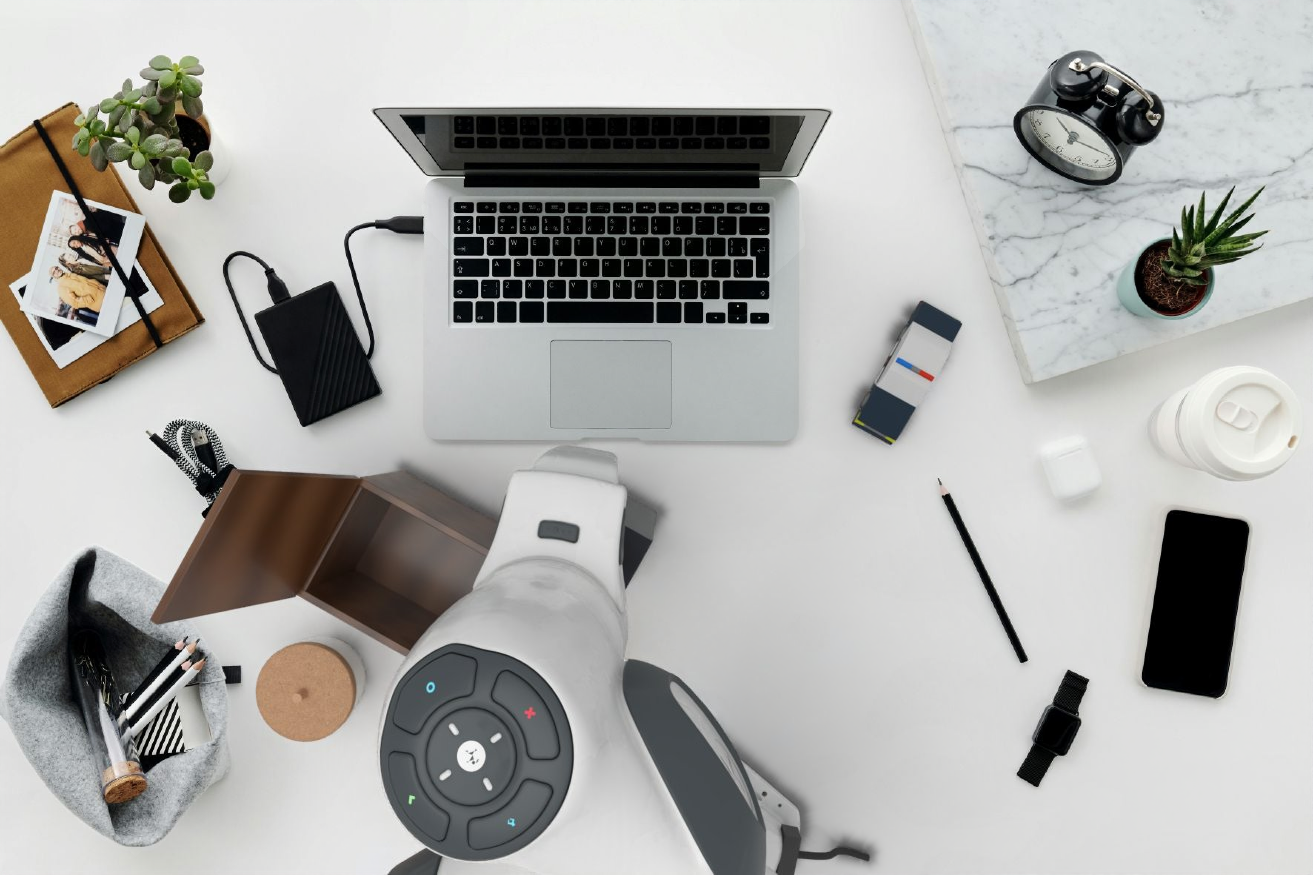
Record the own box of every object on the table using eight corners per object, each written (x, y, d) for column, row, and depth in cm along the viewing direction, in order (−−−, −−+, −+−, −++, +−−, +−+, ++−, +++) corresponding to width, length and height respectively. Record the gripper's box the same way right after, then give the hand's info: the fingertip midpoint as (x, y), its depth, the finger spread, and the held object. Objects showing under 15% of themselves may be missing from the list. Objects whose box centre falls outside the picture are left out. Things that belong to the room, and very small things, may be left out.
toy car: (848, 424, 91) (859, 423, 86) (916, 303, 91) (930, 295, 86) (886, 445, 91) (899, 446, 86) (954, 324, 91) (971, 317, 86)
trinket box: (369, 724, 92) (336, 758, 83) (281, 706, 92) (237, 737, 83) (387, 635, 92) (356, 659, 83) (299, 617, 92) (257, 638, 83)
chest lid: (240, 473, 61) (232, 468, 61) (156, 625, 61) (149, 620, 61) (361, 479, 78) (354, 475, 78) (295, 597, 78) (289, 593, 78)
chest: (527, 539, 92) (503, 557, 78) (471, 639, 92) (437, 675, 78) (404, 470, 92) (359, 476, 78) (348, 570, 92) (294, 594, 79)
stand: (656, 512, 91) (652, 541, 67) (623, 571, 91) (607, 621, 67) (597, 478, 91) (572, 495, 67) (563, 538, 92) (527, 576, 68)
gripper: (574, 833, 42) (597, 734, 56) (631, 459, 42) (640, 453, 56) (459, 815, 42) (511, 720, 56) (515, 442, 42) (553, 439, 56)
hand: (576, 584), depth 56 cm, fingers open, 8 cm apart
